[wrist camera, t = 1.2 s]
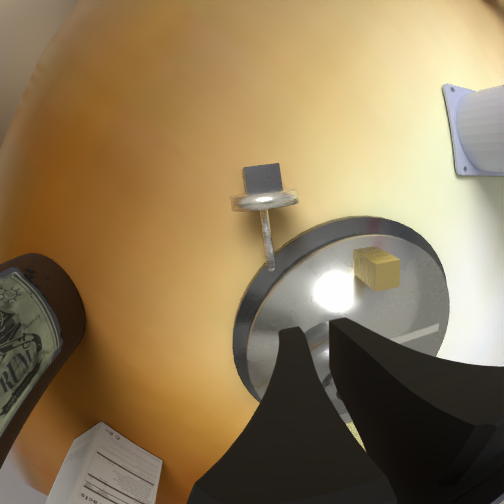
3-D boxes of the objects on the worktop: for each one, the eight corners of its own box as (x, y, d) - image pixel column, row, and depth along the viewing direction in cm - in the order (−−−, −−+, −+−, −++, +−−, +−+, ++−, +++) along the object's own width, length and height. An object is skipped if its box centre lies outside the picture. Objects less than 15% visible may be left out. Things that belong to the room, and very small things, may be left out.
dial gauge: (283, 165, 18) (300, 159, 13) (294, 260, 19) (313, 287, 14) (228, 172, 18) (224, 169, 13) (242, 268, 19) (244, 297, 14)
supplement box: (128, 474, 26) (107, 559, 11) (73, 438, 24) (34, 523, 9) (166, 460, 25) (148, 566, 10) (102, 418, 23) (57, 527, 8)
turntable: (448, 220, 18) (486, 231, 14) (424, 387, 22) (444, 412, 18) (228, 252, 18) (225, 274, 14) (261, 430, 22) (265, 467, 18)
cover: (373, 311, 18) (399, 339, 14) (368, 379, 20) (385, 411, 16) (283, 328, 18) (293, 363, 14) (290, 396, 20) (298, 433, 16)
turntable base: (447, 205, 19) (453, 206, 18) (425, 384, 24) (428, 389, 23) (211, 235, 19) (210, 237, 18) (251, 429, 23) (251, 435, 23)
